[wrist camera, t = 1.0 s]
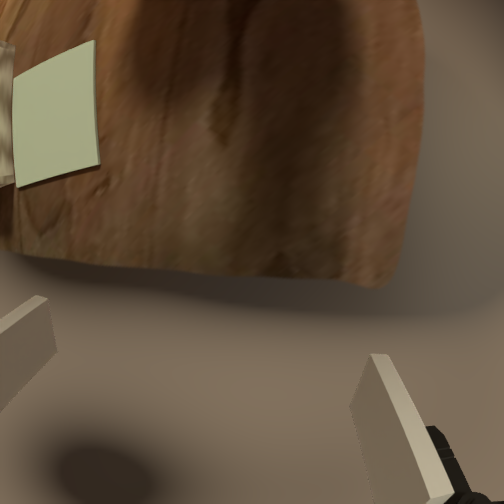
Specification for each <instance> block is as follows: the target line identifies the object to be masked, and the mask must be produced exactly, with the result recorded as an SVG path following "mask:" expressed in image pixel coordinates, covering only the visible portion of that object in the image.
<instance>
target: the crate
mask: <svg viewBox="0 0 504 504" xmlns="http://www.w3.org/2000/svg"><path fill="white" fill-rule="evenodd" d="M15 47H16V46H15V45H12V44H9V43H6V42H3V41H0V187H3V186H6V185H8V184H11V183H14V182H15V181H14V171H13V158H12V140H11V95H12V77H13V64H14V55H15Z"/></svg>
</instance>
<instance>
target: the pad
mask: <svg viewBox="0 0 504 504" xmlns="http://www.w3.org/2000/svg"><path fill="white" fill-rule="evenodd" d="M95 58H96V41H95V40H92V41H89V42H87V43H84V44H82V45H80V46H77V47H75V48H73V49H70V50H68V51H66V52H64V53H62V54H59V55H57V56H55V57H53V58H51V59H49V60H47V61H45V62H43V63H41V64H39V65H37V66H35V67H33V68H32V69H30V70H28V71H26V72H24V73H22V74H21V75H19V76H17V77H15V78H14V82H13V114H12V118H13V151H14V165H15V176H16V186H17V188H18V187H22V186H25V185H28V184H31V183H34V182H38V181H41V180H44V179H47V178H51V177H54V176H58V175H61V174H65V173H69V172H72V171H76V170H80V169H84V168H88V167H92V166H96V165H100V154H99V143H98V130H97V113H96V82H95Z"/></svg>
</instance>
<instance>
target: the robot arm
mask: <svg viewBox="0 0 504 504" xmlns="http://www.w3.org/2000/svg"><path fill="white" fill-rule="evenodd" d="M56 353H57V347H56V342H55V336H54V331H53V325H52V319H51V313H50V306H49V299H48V298H44V297H41V296H38V295H35V296H34V297H32V298H31V299H29V300H28V301H26V302H25V303H23V304H22V305H20V306H19V307H17V308H16V309H15V310H13V311H12V312H10V313H9V314H7V315H6V316H4V317H3V318H1V319H0V412H1V411H2V410H3V409H4V408H5V407H6V405H7V404H8V403H9V402H10V401H11V400H12V399H13V398H14V397H15V396H16V395H17V394H18V392H19V391H20V390H21V389H22V388H23V387H24V386H25V385H26V384H27V383H28V382H29V381H30V380H31V379H32V378H33V377H34V376H35V375H36V374H37V372H38V371H39V370H40V369H41V368H42V367H43V366H44V365H45V364H46V363H47V362H48V361H49V360H50V359H51V358H52V357H53V356H54V355H55V354H56ZM350 409H351V413H352V417H353V421H354V425H355V428H356V432H357V436H358V440H359V444H360V447H361V451H362V455H363V459H364V463H365V467H366V471H367V476H368V480H369V484H370V488H371V493H372V497H373V501H374V504H504V501H497V502H491V501H490V500H489V499H488V498H487V496H485V495H483V494H481V493H477V492H472V491H471V489H470V487H469V485H468V483H467V481H466V478H465V476H464V474H463V472H462V470H461V468H460V466H459V464H458V462H457V460H456V458H454V454H453V452H452V449H450V446H449V444H448V442H447V440H446V438H445V436H444V435H443V434H442V433H441V432H440V431H439V430H438V429H437V428H436V427H435V426H426V427H425V426H424V424H423V422H422V420H421V418H420V416H419V414H418V412H417V410H416V408H415V406H414V404H413V402H412V400H411V398H410V396H409V394H408V392H407V390H406V388H405V386H404V384H403V382H402V380H401V379H400V377H399V375H398V373H397V371H396V369H395V367H394V365H393V364H392V362H391V360H390V358H389V356H388V355H387V354H370V355H369V358H368V361H367V364H366V366H365V369H364V371H363V374H362V377H361V379H360V382H359V384H358V387H357V389H356V392H355V394H354V397H353V399H352V401H351V404H350Z"/></svg>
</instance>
